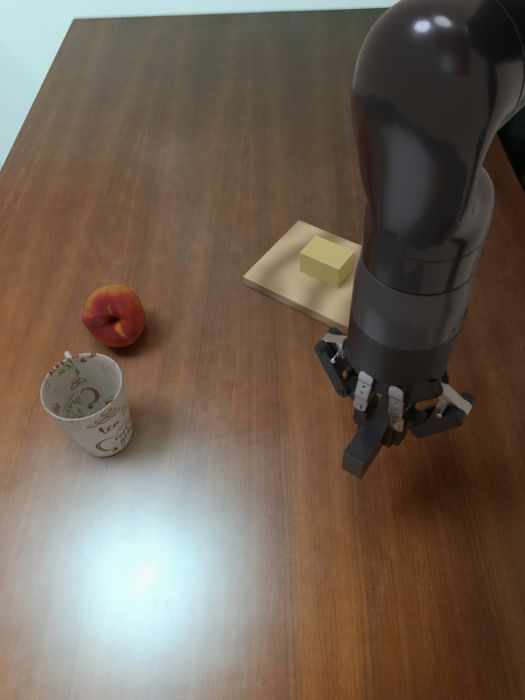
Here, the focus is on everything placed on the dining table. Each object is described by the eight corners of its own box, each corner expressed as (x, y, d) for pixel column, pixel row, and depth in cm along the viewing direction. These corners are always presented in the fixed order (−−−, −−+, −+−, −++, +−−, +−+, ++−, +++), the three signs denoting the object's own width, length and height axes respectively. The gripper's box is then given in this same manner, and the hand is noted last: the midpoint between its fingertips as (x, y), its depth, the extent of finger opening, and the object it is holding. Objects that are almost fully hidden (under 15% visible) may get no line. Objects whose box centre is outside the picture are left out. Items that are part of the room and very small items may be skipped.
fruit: (83, 356, 74) (63, 315, 68) (102, 309, 79) (85, 266, 73) (142, 361, 73) (128, 320, 67) (158, 313, 78) (146, 270, 72)
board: (435, 284, 79) (437, 276, 78) (385, 353, 72) (387, 345, 71) (298, 227, 87) (298, 219, 86) (243, 284, 80) (242, 276, 79)
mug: (87, 480, 63) (57, 434, 55) (46, 401, 70) (14, 350, 62) (155, 441, 66) (136, 392, 58) (109, 368, 73) (86, 316, 65)
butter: (352, 270, 79) (354, 251, 76) (337, 288, 77) (338, 269, 74) (315, 254, 81) (315, 235, 79) (299, 271, 79) (299, 252, 77)
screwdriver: (361, 480, 50) (363, 464, 48) (341, 468, 51) (343, 452, 49) (457, 330, 60) (464, 311, 58) (439, 322, 61) (445, 303, 58)
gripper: (291, 297, 40) (292, 425, 54) (482, 389, 35) (430, 505, 49) (346, 236, 44) (334, 370, 57) (527, 311, 38) (467, 439, 52)
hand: (378, 431), depth 53 cm, fingers closed on screwdriver, 2 cm apart
